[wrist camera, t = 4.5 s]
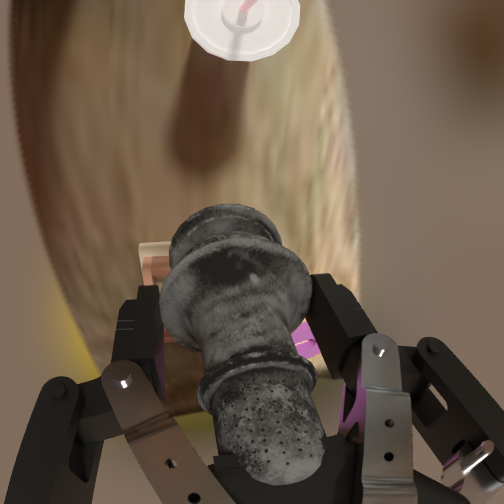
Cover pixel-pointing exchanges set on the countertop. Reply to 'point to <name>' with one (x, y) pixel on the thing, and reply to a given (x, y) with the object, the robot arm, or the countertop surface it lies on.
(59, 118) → the countertop surface
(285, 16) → the beverage cup
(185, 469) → the robot arm
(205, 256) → the salt shaker
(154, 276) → the shaker holder
